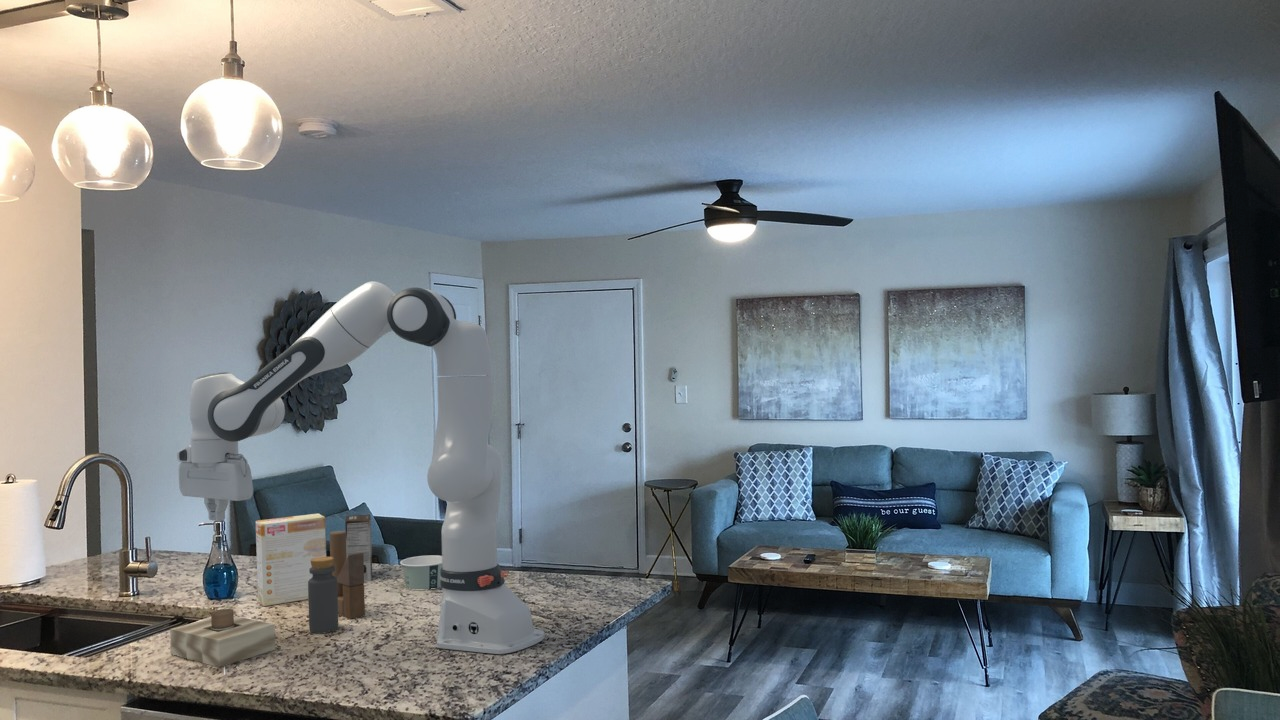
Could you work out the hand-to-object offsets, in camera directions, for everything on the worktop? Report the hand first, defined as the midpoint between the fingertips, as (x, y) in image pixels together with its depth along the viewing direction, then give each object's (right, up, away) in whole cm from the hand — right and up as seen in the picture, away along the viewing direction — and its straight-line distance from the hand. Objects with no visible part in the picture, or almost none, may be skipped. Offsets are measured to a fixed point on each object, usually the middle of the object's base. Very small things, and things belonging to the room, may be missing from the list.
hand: (216, 520), depth 191 cm
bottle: (+19, -25, +7) cm, 32 cm away
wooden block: (+20, -25, +20) cm, 37 cm away
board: (+4, -25, -7) cm, 26 cm away
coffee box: (+13, -25, +54) cm, 61 cm away
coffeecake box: (+3, -25, +35) cm, 43 cm away
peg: (+4, -25, -7) cm, 26 cm away
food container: (+33, -24, +44) cm, 60 cm away
